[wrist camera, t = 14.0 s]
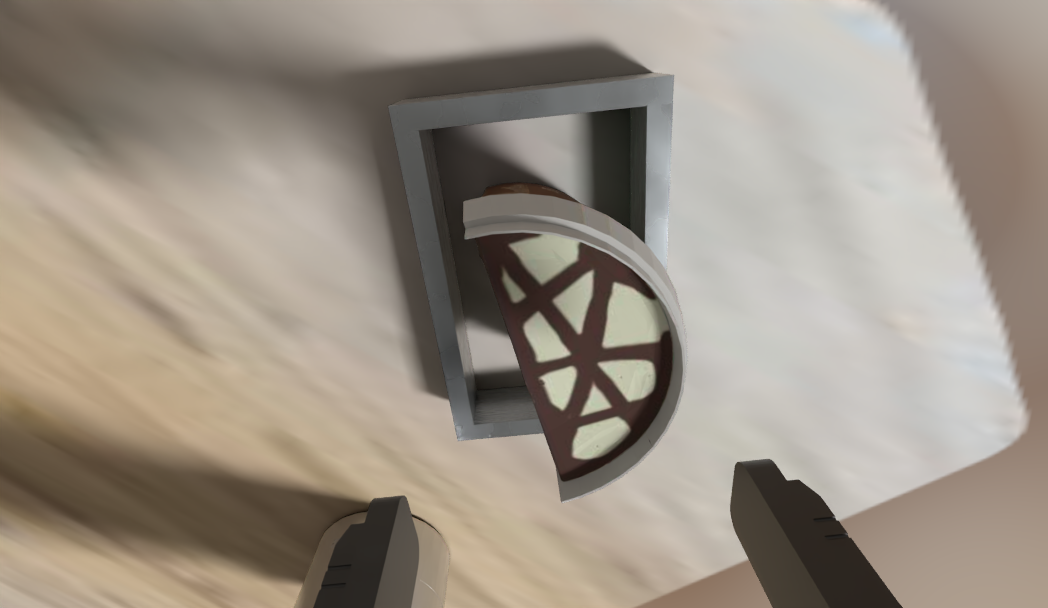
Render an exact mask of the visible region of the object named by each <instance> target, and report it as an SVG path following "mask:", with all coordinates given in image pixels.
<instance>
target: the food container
mask: <svg viewBox="0 0 1048 608" xmlns="http://www.w3.org/2000/svg"><path fill="white" fill-rule="evenodd" d="M463 223H464V226H465V236H464V238H465V240H466V239H471V238H475V241H476V244H477V246H478V251H479V255H480V257H481V259H482V261H483V263H484V265H485V268H486V270H487V273H488V275H489V278H490V281H491V284H492V287H493V290H494V293H495V296H496V298H497V301H498V304H499V307H500V310H501V313H502V316H503V319H504V321H505V324H506V327H507V330H508V333H509V336H510V339H511V342H512V345H513V348H514V351H515V354H516V357H517V360H518V363H519V366H520V369H521V372H522V375H523V378H524V381H525V384H526V386H527V389H528V391H529V394H530V396H531V399H532V401H533V404H534V407H535V409H536V412H537V415H538V418H539V421H540V423H541V426H542V429H543V432H544V435H545V437H546V440H547V443H548V446H549V449H550V451H551V454H552V457H553V460H554V462H555V465H556V471H557V478H558V485H559V491H560V498H561V503H565V502H568V501H571V500H575V499H578V498H581V497H584V496H586V495H589V494H591V493H593V492H596V491H598V490H600V489H603V488H604V487H606V486H608V485H609V484H611V483H613V482H615V481H616V480H618V479H620V478H621V477H623V476H624V475H625V474H627V473H628V472H629V471H631V470H632V469H633V468H635V467H636V466H637V465H638V464H640V463H641V462H642V461H643V460H644V458H645V457H646V456H647V455H648V454H649V453H650V452H651V451H652V450H653V449H654V448H655V447H656V446H657V444H658V443H659V441H660V440H661V439H662V437H663V436H664V435H665V433H666V432H667V430H668V428H669V426H670V424H671V422H672V420H673V418H674V416H675V415H676V413H677V410H678V406H679V403H680V400H681V397H682V394H683V389H684V383H685V378H686V370H687V362H688V351H687V336H686V331H685V326H684V322H683V317H682V312H681V309H680V305H679V301H678V297H677V294H676V290H675V288H674V286H673V284H672V282H671V280H670V278H669V276H668V274H667V272H666V270H665V268H664V267H663V265H662V264H661V263H660V261H659V260H658V259H657V257H656V256H655V255H654V253H653V252H652V251H651V249H650V248H649V247H648V246H647V245H646V244H645V243H644V242H642V241H641V240H640V239H639V238H638V237H637V236H636V235H635V234H634V233H633V232H632V231H631V230H629V229H628V228H626V227H625V226H623V225H622V224H620V223H618V222H617V221H615V220H614V219H612V218H611V217H609V216H608V215H606V214H603V213H601V212H599V211H597V210H594V209H592V208H590V207H587V206H585V205H583V204H580V203H579V202H578V201H576V200H575V199H573V198H572V197H570V196H568V195H567V194H565V193H563V192H561V191H558V190H556V189H553V188H551V187H547V186H543V185H539V184H533V183H521V182H518V183H504V184H499V185H495V186H490V187H487V188H486V190H485V192H484V194H483V196H482V197H480V198H475V199H471V200H466V201H463Z"/></svg>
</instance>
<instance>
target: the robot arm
mask: <svg viewBox="0 0 1048 608" xmlns="http://www.w3.org/2000/svg"><path fill="white" fill-rule="evenodd" d="M730 512H731V518H732V523H733V526H734V529H735V532H736V534H737V536H738V538H739V540H740V542H741V544H742V546H743V548H744V550H745V552H746V554H747V556H748V558H749V561H750V562H751V564H752V567H753V569H754V570H755V572H756V575H757V577H758V578H759V581H760V583H761V585H762V587H763V588H764V591H765V593H766V595H767V597H768V599H769V601H770V603H771V605H772V607H773V608H903V607H902V606H901V605H900V604H899V603H898V601H897V600H896V599H895V597H894V596H893V594H892V593H891V592H890V590H889V589H888V588H887V586H886V585H885V584H884V582H883V581H882V579H881V578H880V577H879V575H878V574H877V573H876V572H875V570H874V569H873V567H872V566H871V565H870V563H869V562H868V561H867V559H866V558H865V556H864V555H863V554H862V552H861V551H860V550H859V548H858V547H857V546H856V544H855V543H854V541H853V540H852V539H851V538H849V537H848V533H847V532H846V530H845V529H844V528H843V526H842V525H841V524H840V522H839V521H836V519H835V516H834V514H833V513H832V511H831V510H830V509H829V507H828V506H827V505H826V503H825V502H824V501H823V499H822V498H821V496H819V495H818V494H817V493H815V492H814V491H813V490H812V489H810V488H809V487H808V486H806V485H805V484H804V483H802V482H801V481H800V480H790V481H787V480H786V479H785V477H784V476H783V474H782V473H781V471H780V470H779V469H778V467H777V466H776V464H775V463H774V462H773V461H772V460H770V459H763V460H753V461H743V462H737V463H736V465H735V470H734V478H733V487H732V496H731V504H730ZM449 560H450V554H449V550H448V546H447V544H446V543H445V541H444V539H443V538H442V536H441V535H440V534H439V533H438V532H437V531H436V530H435V529H433V528H432V527H430V526H429V525H428V524H426V523H425V522H422V521H420V520H418V519H416V518H414V517H412V515H411V511H410V508H409V504H408V501H407V498H406V497H405V496H394V497H384V498H375V499H373V500H372V501H371V503H370V506H369V509H368V512H362V513H356V514H353V515H350V516H347V517H345V518H342V519H341V520H339V521H337V522H336V523H334V524H333V525H332V526H331V527H329V528H328V529H327V530H326V531H325V533H324V535H323V537H322V538H321V540H320V543H319V545H318V548H317V550H316V553H315V556H314V558H313V561H312V563H311V566H310V568H309V571H308V573H307V576H306V578H305V581H304V583H303V586H302V589H301V591H300V593H299V595H298V598H297V601H296V603H295V606H294V608H444V604H445V595H446V587H447V578H448V570H449Z"/></svg>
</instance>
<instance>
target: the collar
mask: <svg viewBox="0 0 1048 608" xmlns="http://www.w3.org/2000/svg"><path fill="white" fill-rule="evenodd" d="M673 86H674V75H670V74H662V73H644V74H635V75H626V76H617V77H607V78H598V79H589V80H580V81H570V82H561V83H552V84H543V85H533V86H524V87H515V88H506V89H497V90H487V91H478V92H469V93H460V94H450V95H441V96H432V97H423V98H413V99H404V100H401V101H399V102H396V103H394V104H391V105H389V106H388V109H389V114H390V118H391V123H392V128H393V133H394V138H395V142H396V147H397V152H398V157H399V162H400V166H401V171H402V176H403V181H404V185H405V190H406V195H407V200H408V205H409V209H410V214H411V219H412V224H413V229H414V233H415V238H416V243H417V248H418V253H419V257H420V262H421V267H422V272H423V276H424V281H425V286H426V291H427V296H428V300H429V305H430V310H431V315H432V320H433V324H434V329H435V334H436V339H437V344H438V348H439V353H440V358H441V363H442V367H443V372H444V377H445V382H446V387H447V391H448V396H449V401H450V406H451V411H452V415H453V420H454V425H455V430H456V435H457V439H458V441H463V440H474V439H484V438H495V437H506V436H517V435H528V434H539V433H544V432H543V429H542V426H541V423H540V421H539V418H538V415H537V412H536V409H535V407H534V404H533V401H532V399H531V396H530V394H529V391H528V389H527V386H521V387H510V388H500V389H489V390H478V391H477V388H476V382H475V376H474V371H473V365H472V359H471V354H470V348H469V342H468V336H467V331H466V325H465V319H464V313H463V308H462V302H461V296H460V291H459V285H458V279H457V273H456V268H455V262H454V256H453V251H452V245H451V239H450V233H449V228H448V222H447V216H446V210H445V205H444V199H443V193H442V188H441V182H440V176H439V170H438V165H437V159H436V153H435V148H434V142H433V136H432V130H431V129H436V128H445V127H454V126H464V125H473V124H482V123H492V122H501V121H510V120H520V119H529V118H539V117H548V116H557V115H567V114H576V113H585V112H595V111H604V110H614V109H623V108H630V230H631V231H632V232H633V233H634V234H635V235H636V236H637V237H638V238H639V239H640V240H641V241H642V242H644V243H645V244H646V245H647V246H648V247H649V248H650V249H651V251H652V252H653V253H654V255H655V256H656V257H657V259H658V260H659V261H660V263H661V264H662V265H663V267H664V268H665V270H666V272H667V246H668V219H669V193H670V166H671V139H672V113H673Z"/></svg>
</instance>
